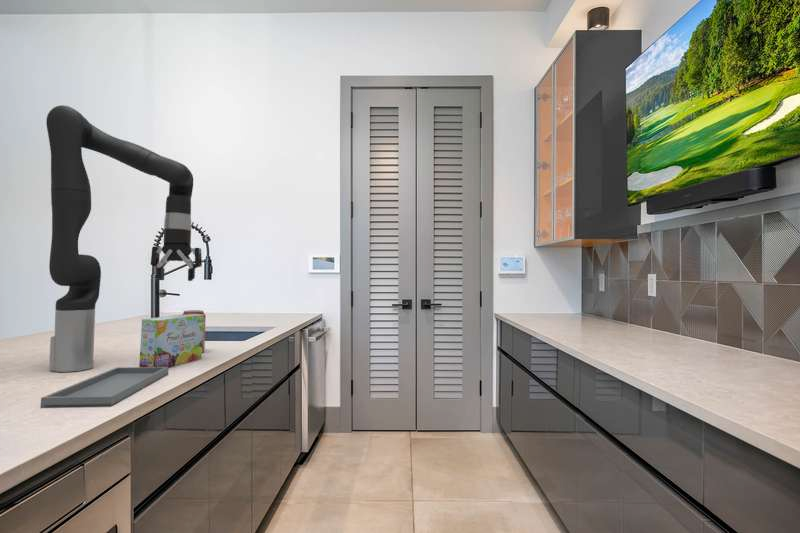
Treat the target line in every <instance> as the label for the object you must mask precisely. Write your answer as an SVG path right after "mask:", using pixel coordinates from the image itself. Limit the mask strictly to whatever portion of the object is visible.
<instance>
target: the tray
mask: <svg viewBox="0 0 800 533" xmlns="http://www.w3.org/2000/svg"><path fill="white" fill-rule="evenodd" d="M168 375H169V368H168V367H137V366H131V367H130V366H128V367H127V366H125V367H123V366H122V367H118V366H116V367H114V368H112V369H109V370H106V371H103V372H102V373H99V374H97V375H94V376H92V377H90V378H87V379H84V380H81V381H79V382H76V383H74V384H71V385H69V386H67V387H64V388H62V389H60V390H56V391H54V392H52V393H50V394H48V395H45V396H42V397H41V398H40V408H86V407H87V408H88V407H90V408H94V407H95V408H96V407H101V408H102V407H112V406H114V405H116V404H117V403H120V402H122V401H123V400H125V399H126V398H128V397H130V396H133V395H134V394H136V393H137V392H139V391H141V390H143V389H144V388H146V387H148V386H150V385H151V384H154V383H155V382H157V381H159V380H160V379H162V378H164V377H166V376H168Z"/></svg>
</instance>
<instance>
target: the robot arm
mask: <svg viewBox="0 0 800 533" xmlns="http://www.w3.org/2000/svg"><path fill="white" fill-rule="evenodd" d="M45 120H46V131H47V135H48V136H47V137H48V141H49V148H50V178H51V179H50V199H51V200H50V202H51V243H50V244H51V245H50V251H49V252H50V253H49V266H48V268H49V275H50V278H51V280H52V281H53V282H54V283H55V284H56V285H59V286H62V287H68V291H67V293H66V294H65V295H64V296H62V297H60V298H58V299H57V300H56V301H55V307H54V308H55V309H54V311H55V314H54V316H55V317H54V335H53V336H51V337H50V346H49V366H48V368H49V371H50V372H57V373H69V372H79V371H85V370H89V369H92V368H94V352H95V327H96V326H95V323H96V320H95V319H96V303H97V302H98V300H99V297H100V289H101V279H102V270H101V265H100V262H99V261H98V259H97V258H96V257H95V256H92V255H89V254H80V253H79V236H80V233H81V230H82V229H83V227H84V225H85V224H86V221H87V220H88V218H89V216H90V214H91V212H92V190H91V185H90V179H89V176H88V173H87V170H86V167H85V163H84V160H83V155H82V148H83V149H86V150H90V151H93V152H96V153H99V154H102V155H105V156H107V157H108V158H111V159H114V160H116V161H118V162H120V163H122V164H125V165H126V166H128V167H131V168H133V169H135V170H138V171H140V172H142V173H144V174H146V175H148V176H154V177H157V178H159V179H161V180H163V181H165V182H167V183H169V184H168V187H169V188H168V196H167V197H166V200H165V214H164V215H165V216H164V222H163V223H164V224H163V226H164V227H163V245H162V247H161V246H160V247H159V246H156V245H155V246H154V245H153V246H152V248H151V257H150V266H153V267H155V268H157V270H156V277H157V279H158V281H164V280H165V267H166V266H167V264H168V263H170V262H177V261H178V262H184V263H185V265H187V267H188V269H187V271H188V272H187V281H189V282H191V281H193V280H194V279H195V277H196V276H195V275H196V269H197V268H201V267H202V264H203V263H202V262H203V261H202V259H203V258H202V248H201V247H194V248H192V246H191V244H192V243H191V242H192V240H191V239H192V218H191V217H192V196H193V190H194V176H193V173H192V171H191V170H190V169H189V168H188V167H187V166H186V165H185V164H183V163H181V162H179V161H177V160H174V159H171V158H169V157H166V156H163V155H160V154H158V153H156V152H155V151H152V150H150V149H148V148H146V147H144V146H141V145H139V144H136V143H135V142H130V141H128V140H125V139H120V138H117V137H115V136H112V135H111V134H108V133H106V132H105V131H103V130H101V129H99V128H98V127H97V126H95V125H93V124H92V123H90V121H88V120H87V118H86V117H85V116H83V114H82V113H81V112H79V111H78V110H76V109H75V108H73V107H71V106H69V105H57V106H55V107H53V108H52V109H50V110H49V112H48V114H47V116H46V119H45ZM162 252H163V256H162V257H161V259H160V260H159V258H160V254H161V253H162ZM191 254H193V256H194V262H193V260H192V258H191V257H190V255H191Z"/></svg>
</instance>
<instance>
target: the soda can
mask: <svg viewBox="0 0 800 533" xmlns="http://www.w3.org/2000/svg"><path fill="white" fill-rule="evenodd" d="M204 311H205V310H201V309H193V310H192V309H188V310H187V309H186V310H183V313H182V314H181V315H184V314H203V315H204V324H203V344H202V352H204V351H205V346H206V345H205V344H206V343H205V342H206V318H207V316H206V314H205V312H204Z"/></svg>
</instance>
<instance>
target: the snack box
mask: <svg viewBox="0 0 800 533" xmlns="http://www.w3.org/2000/svg"><path fill="white" fill-rule="evenodd" d="M203 324H204V315H203V314H184V315H182V314H177V315H176V314H175V315H168V316H158V317H150V318H141V328H140V330H141V331H140V332H141V333H140V349H139V367H168V369H170V368H171V367H176V366H180V365H183V364H184V365H185V364H187V363H191V362H195V361H198V359H199V360H201V359H202V358H203V351H202V344H203Z"/></svg>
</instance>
